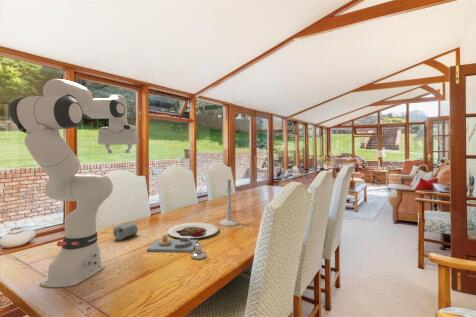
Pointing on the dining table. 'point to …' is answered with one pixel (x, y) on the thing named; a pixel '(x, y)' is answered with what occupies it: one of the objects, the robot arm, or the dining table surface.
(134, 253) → the dining table surface
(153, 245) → the carrier
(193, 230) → the plated food
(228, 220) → the grey rod on disc
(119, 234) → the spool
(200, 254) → the silver rounded piece
